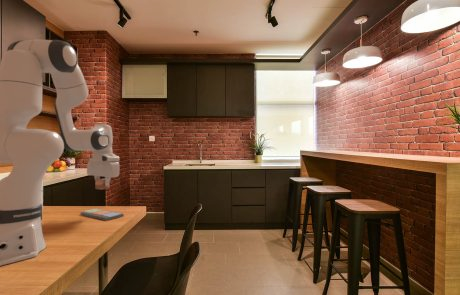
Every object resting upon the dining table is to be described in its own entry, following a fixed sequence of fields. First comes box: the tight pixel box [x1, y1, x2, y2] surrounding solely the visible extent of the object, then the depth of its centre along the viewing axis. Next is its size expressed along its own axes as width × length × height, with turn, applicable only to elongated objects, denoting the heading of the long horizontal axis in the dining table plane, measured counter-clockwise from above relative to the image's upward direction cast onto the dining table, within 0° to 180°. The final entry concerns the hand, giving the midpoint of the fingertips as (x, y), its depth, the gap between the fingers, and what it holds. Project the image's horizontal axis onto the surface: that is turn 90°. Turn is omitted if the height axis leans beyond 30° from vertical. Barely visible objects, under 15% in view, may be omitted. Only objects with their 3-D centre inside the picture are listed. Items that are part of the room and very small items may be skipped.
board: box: [80, 208, 124, 222], centre depth 126 cm, size 9×20×2 cm, turn 62°
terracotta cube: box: [94, 178, 111, 190], centre depth 126 cm, size 4×4×4 cm
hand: (102, 185), depth 126 cm, fingers closed on terracotta cube, 4 cm apart
